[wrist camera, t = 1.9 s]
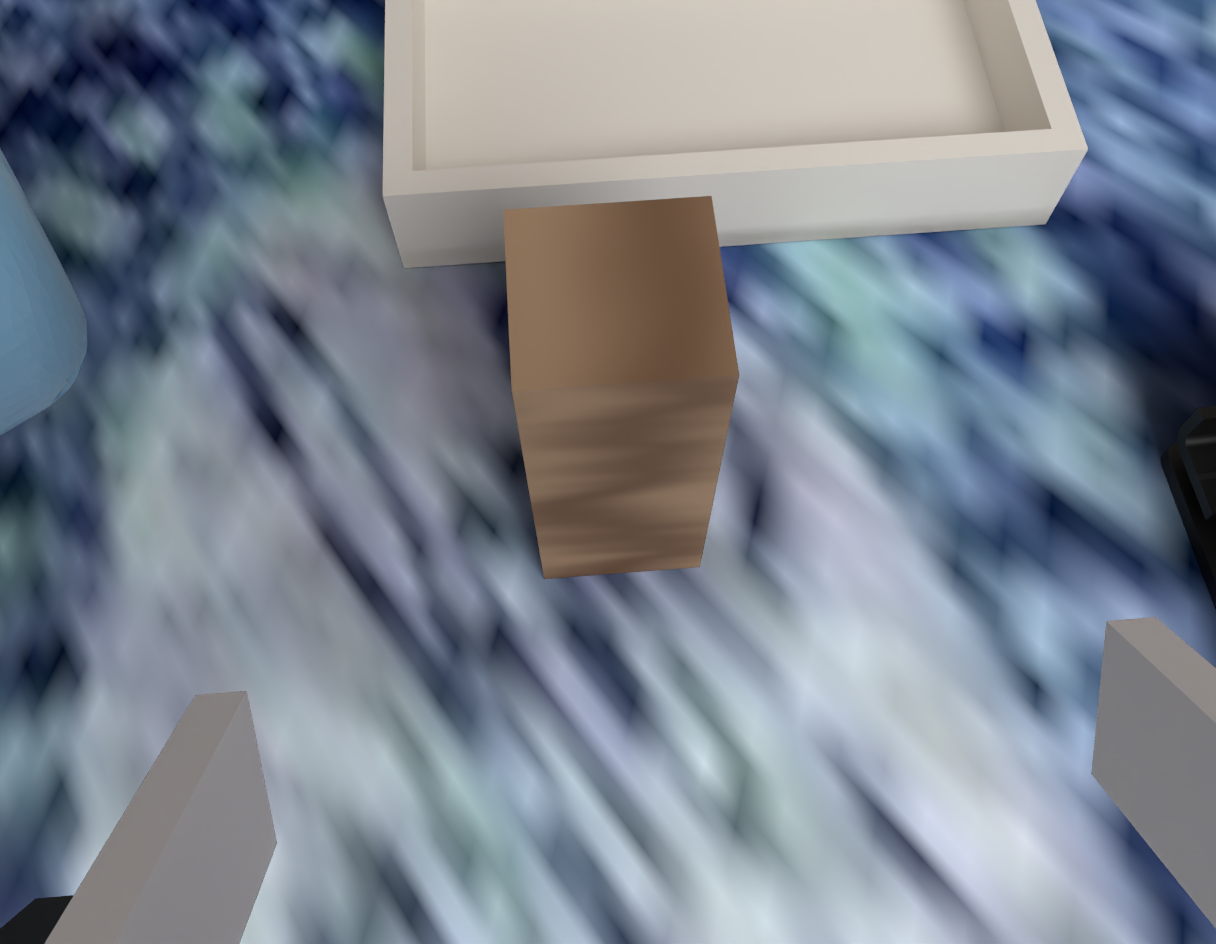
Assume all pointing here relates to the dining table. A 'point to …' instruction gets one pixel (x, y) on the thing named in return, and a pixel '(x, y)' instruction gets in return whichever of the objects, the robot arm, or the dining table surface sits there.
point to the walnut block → (619, 379)
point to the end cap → (1196, 486)
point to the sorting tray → (721, 116)
